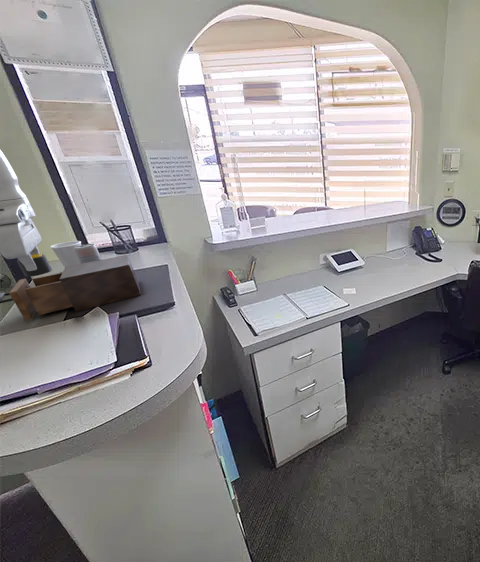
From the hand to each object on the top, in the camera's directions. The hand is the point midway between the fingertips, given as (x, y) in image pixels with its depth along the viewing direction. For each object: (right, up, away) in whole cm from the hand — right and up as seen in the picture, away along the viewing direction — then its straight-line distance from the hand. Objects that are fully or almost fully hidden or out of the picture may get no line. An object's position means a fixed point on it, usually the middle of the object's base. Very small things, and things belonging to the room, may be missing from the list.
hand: (35, 266), depth 79 cm
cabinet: (+8, -8, +13) cm, 17 cm away
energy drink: (-7, -3, +26) cm, 27 cm away
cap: (0, -2, +1) cm, 2 cm away
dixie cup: (-25, +1, +37) cm, 45 cm away
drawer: (-2, -11, +6) cm, 12 cm away
